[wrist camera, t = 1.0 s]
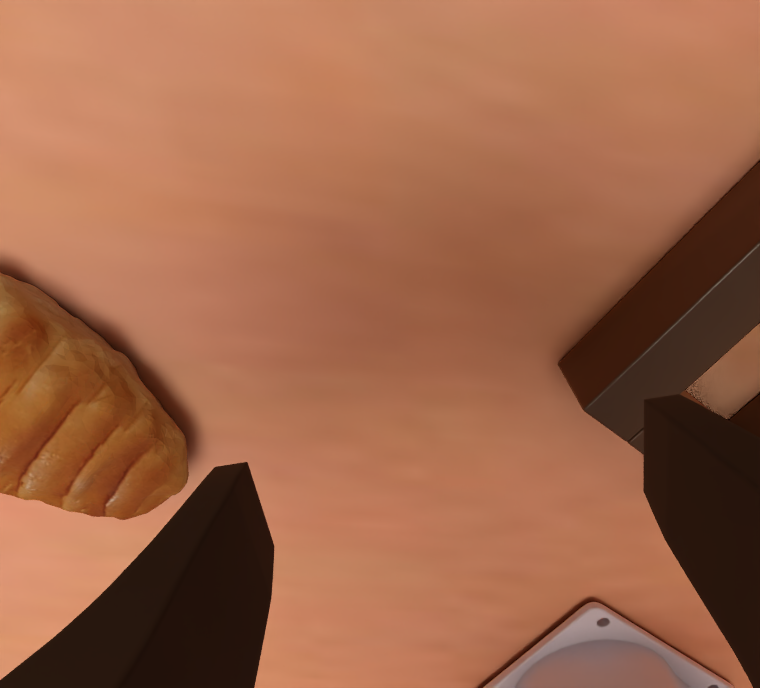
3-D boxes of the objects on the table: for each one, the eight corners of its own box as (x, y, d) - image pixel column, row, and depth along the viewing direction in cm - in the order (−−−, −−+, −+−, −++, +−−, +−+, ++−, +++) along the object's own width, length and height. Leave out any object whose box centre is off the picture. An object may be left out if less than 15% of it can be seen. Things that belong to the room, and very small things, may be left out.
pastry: (239, 408, 23) (217, 476, 20) (137, 523, 25) (102, 603, 22) (-15, 241, 20) (-91, 287, 17) (-104, 388, 23) (-187, 455, 19)
